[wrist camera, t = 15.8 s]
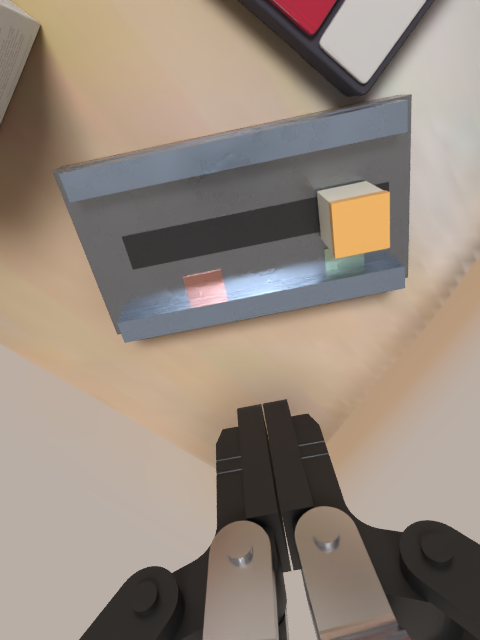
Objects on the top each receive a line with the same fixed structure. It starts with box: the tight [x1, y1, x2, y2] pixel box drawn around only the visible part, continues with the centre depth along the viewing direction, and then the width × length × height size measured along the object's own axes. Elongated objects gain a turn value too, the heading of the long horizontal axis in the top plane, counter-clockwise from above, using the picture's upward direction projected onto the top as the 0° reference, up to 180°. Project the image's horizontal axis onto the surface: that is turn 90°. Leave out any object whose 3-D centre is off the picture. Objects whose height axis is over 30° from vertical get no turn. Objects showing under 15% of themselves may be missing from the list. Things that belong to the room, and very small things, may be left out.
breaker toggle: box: [317, 181, 390, 259], centre depth 27 cm, size 4×4×4 cm
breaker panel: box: [53, 95, 411, 343], centre depth 30 cm, size 13×24×4 cm, turn 101°
